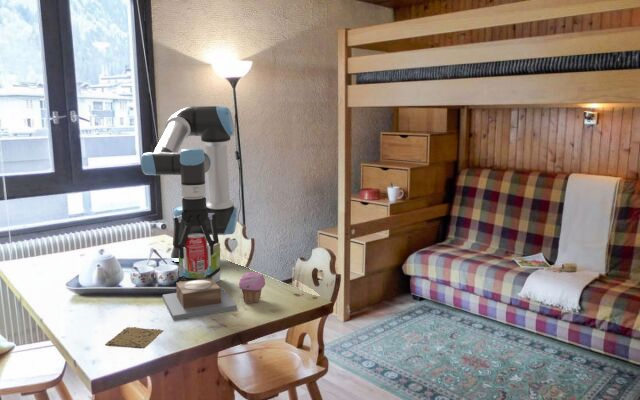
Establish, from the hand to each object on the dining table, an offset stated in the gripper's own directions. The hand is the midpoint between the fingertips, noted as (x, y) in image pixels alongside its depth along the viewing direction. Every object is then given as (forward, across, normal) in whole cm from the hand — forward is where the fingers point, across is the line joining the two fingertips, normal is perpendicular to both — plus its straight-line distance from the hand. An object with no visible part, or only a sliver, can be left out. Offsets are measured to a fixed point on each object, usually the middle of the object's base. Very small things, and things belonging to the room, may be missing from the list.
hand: (197, 266), depth 174 cm
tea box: (+13, +5, +19) cm, 24 cm away
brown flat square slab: (+14, -22, -18) cm, 31 cm away
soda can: (+2, 0, 0) cm, 2 cm away
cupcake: (+13, +17, -5) cm, 22 cm away
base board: (+13, 0, 0) cm, 13 cm away
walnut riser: (+12, 0, 0) cm, 12 cm away
